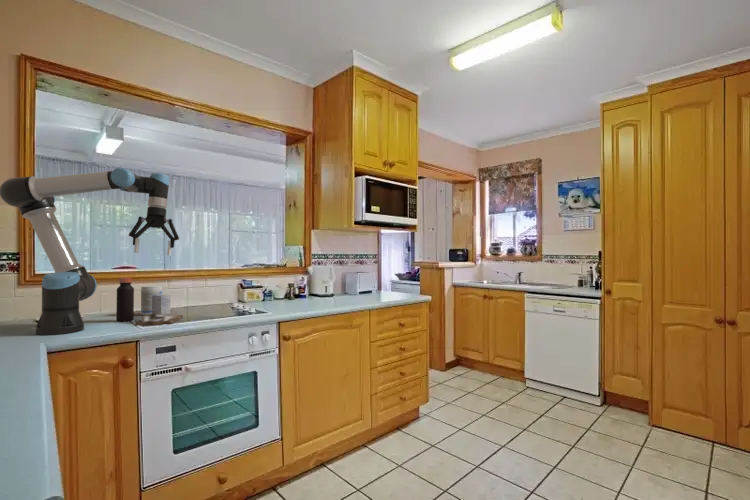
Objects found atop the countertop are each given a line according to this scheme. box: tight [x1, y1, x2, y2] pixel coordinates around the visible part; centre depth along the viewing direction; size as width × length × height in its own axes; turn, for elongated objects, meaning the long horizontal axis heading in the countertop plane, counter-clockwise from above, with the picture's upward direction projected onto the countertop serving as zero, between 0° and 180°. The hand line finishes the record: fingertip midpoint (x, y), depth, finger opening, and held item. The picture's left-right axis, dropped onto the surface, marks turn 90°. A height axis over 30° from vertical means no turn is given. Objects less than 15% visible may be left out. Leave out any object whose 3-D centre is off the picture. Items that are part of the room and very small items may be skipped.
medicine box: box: [152, 293, 171, 315], centre depth 179 cm, size 8×4×9 cm, turn 58°
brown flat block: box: [135, 310, 184, 327], centre depth 178 cm, size 14×18×4 cm
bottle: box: [115, 277, 135, 323], centre depth 180 cm, size 7×7×20 cm
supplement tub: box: [140, 285, 163, 317], centre depth 199 cm, size 10×10×15 cm
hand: (152, 254), depth 176 cm, fingers open, 13 cm apart
